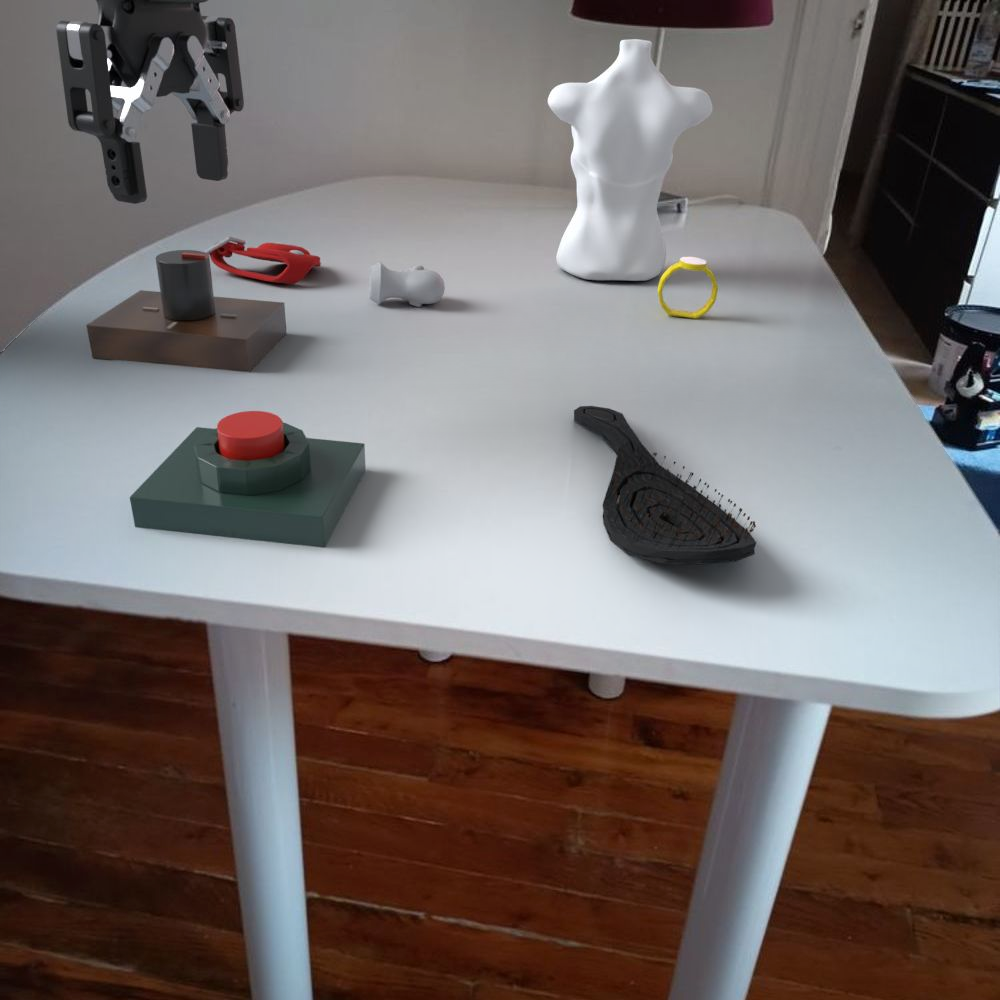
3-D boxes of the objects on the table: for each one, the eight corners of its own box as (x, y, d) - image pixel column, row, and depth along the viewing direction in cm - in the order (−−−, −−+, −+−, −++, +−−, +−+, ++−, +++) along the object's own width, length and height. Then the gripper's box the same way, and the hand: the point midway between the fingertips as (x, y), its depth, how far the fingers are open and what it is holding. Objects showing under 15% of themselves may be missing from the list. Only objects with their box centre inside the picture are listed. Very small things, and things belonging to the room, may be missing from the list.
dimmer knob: (154, 318, 79) (145, 257, 77) (176, 302, 83) (168, 244, 81) (203, 322, 79) (196, 262, 76) (223, 306, 83) (216, 248, 80)
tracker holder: (306, 248, 108) (338, 248, 100) (303, 286, 109) (335, 289, 100) (201, 232, 101) (227, 231, 93) (199, 273, 102) (224, 275, 94)
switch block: (134, 527, 56) (124, 470, 54) (200, 454, 65) (193, 402, 63) (324, 548, 55) (321, 491, 53) (365, 471, 64) (364, 419, 62)
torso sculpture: (673, 262, 114) (704, 39, 102) (694, 286, 106) (732, 46, 93) (529, 259, 112) (544, 31, 100) (540, 283, 104) (557, 37, 91)
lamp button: (209, 460, 57) (206, 434, 56) (233, 432, 60) (231, 408, 59) (272, 466, 56) (270, 441, 55) (293, 438, 60) (291, 413, 59)
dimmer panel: (92, 358, 79) (85, 323, 77) (145, 320, 88) (140, 288, 86) (248, 372, 78) (245, 337, 76) (286, 333, 86) (284, 300, 85)
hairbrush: (636, 379, 73) (793, 530, 52) (632, 422, 75) (782, 586, 53) (536, 385, 71) (655, 543, 50) (534, 428, 73) (648, 600, 51)
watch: (655, 318, 95) (663, 261, 92) (653, 310, 98) (661, 254, 95) (713, 322, 95) (723, 265, 92) (710, 313, 97) (719, 258, 94)
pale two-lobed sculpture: (445, 309, 98) (441, 309, 93) (371, 303, 98) (363, 303, 93) (448, 268, 97) (444, 266, 92) (373, 262, 97) (365, 260, 92)
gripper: (167, -85, 61) (195, 167, 70) (-7, -103, 50) (51, 202, 58) (261, -81, 59) (279, 179, 67) (102, -98, 48) (147, 218, 56)
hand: (173, 189), depth 63 cm, fingers open, 8 cm apart
